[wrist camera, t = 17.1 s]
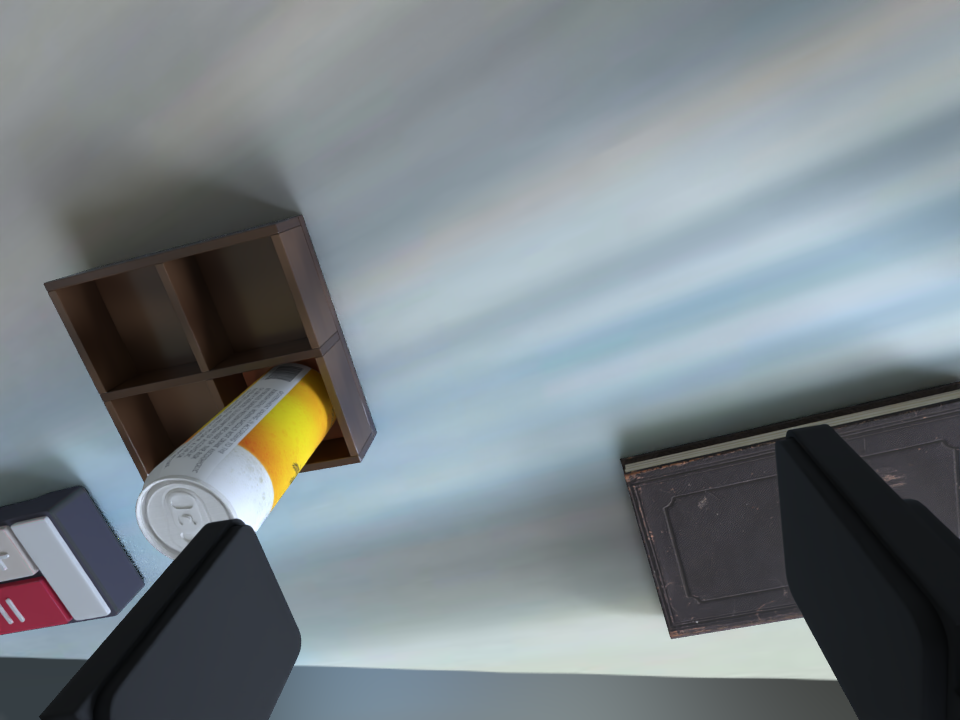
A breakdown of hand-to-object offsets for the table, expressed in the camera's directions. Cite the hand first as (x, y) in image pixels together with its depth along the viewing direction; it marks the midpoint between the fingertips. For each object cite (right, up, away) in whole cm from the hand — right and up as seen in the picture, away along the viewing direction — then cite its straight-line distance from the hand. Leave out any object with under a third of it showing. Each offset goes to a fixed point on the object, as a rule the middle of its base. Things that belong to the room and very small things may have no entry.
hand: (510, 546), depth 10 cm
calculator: (-39, -14, +42) cm, 59 cm away
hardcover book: (+23, -8, +34) cm, 42 cm away
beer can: (-14, +1, +33) cm, 36 cm away
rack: (-18, +4, +33) cm, 38 cm away
